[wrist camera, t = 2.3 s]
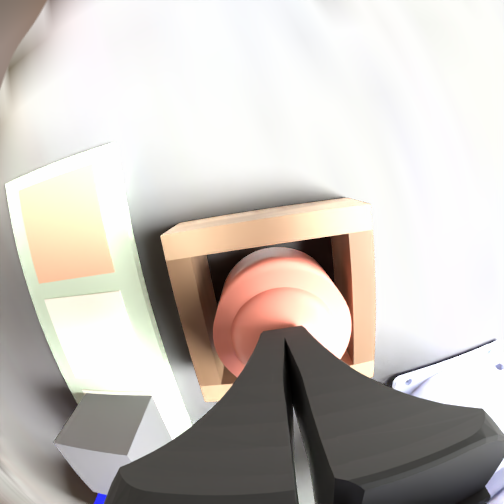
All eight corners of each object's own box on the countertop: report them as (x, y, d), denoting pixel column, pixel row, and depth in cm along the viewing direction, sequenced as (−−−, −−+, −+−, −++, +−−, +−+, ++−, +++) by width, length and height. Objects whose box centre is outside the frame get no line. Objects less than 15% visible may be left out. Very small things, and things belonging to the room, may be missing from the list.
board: (117, 143, 13) (111, 142, 13) (202, 448, 18) (201, 455, 17) (11, 183, 14) (3, 184, 13) (106, 443, 19) (104, 449, 18)
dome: (326, 238, 13) (360, 269, 9) (334, 339, 14) (360, 397, 10) (211, 256, 13) (191, 295, 9) (232, 354, 14) (225, 417, 10)
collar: (346, 197, 14) (370, 204, 11) (355, 344, 16) (373, 376, 13) (179, 222, 14) (160, 235, 11) (212, 365, 16) (205, 401, 13)
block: (152, 395, 16) (126, 455, 11) (176, 447, 17) (162, 503, 12) (86, 393, 16) (53, 442, 11) (114, 443, 18) (92, 491, 13)
